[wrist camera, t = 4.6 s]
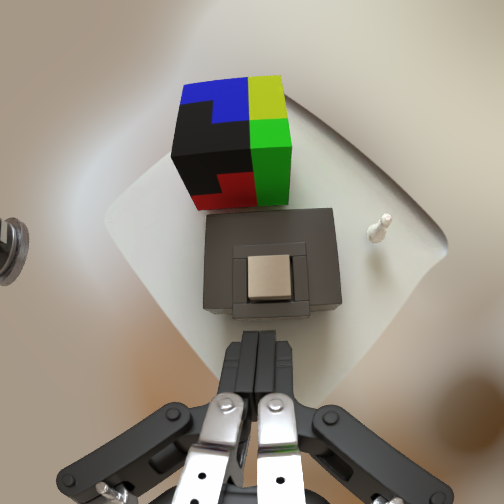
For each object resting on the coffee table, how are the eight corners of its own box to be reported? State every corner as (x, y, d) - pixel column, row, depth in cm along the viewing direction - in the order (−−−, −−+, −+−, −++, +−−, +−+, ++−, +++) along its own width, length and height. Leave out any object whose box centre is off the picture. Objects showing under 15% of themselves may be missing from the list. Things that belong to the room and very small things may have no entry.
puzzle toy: (202, 142, 36) (183, 84, 26) (280, 136, 35) (280, 75, 26) (197, 210, 32) (170, 156, 23) (288, 204, 32) (291, 146, 22)
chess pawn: (375, 247, 29) (387, 233, 26) (361, 234, 30) (372, 218, 26) (389, 232, 30) (402, 217, 26) (376, 220, 30) (387, 203, 27)
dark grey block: (214, 324, 29) (196, 318, 23) (216, 231, 32) (201, 206, 26) (335, 320, 28) (347, 313, 22) (327, 225, 31) (334, 198, 25)
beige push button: (250, 300, 24) (248, 297, 22) (250, 262, 25) (247, 256, 23) (290, 299, 23) (291, 295, 22) (289, 260, 24) (289, 254, 23)
